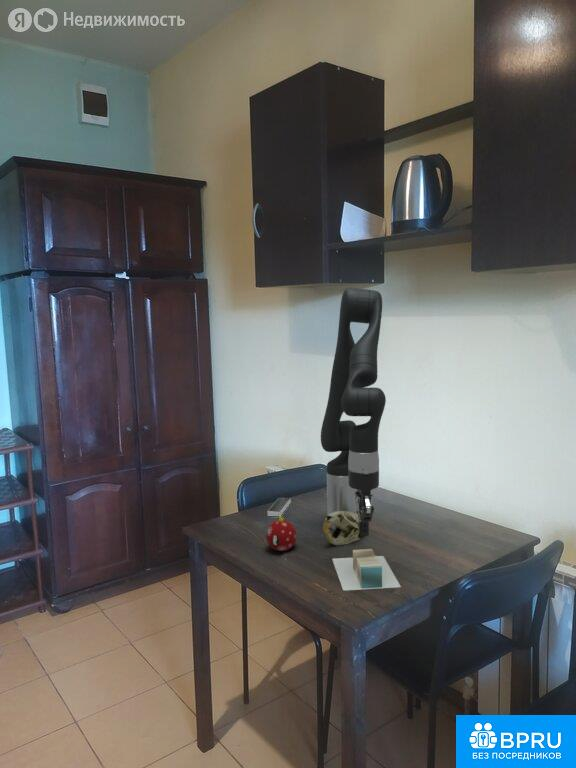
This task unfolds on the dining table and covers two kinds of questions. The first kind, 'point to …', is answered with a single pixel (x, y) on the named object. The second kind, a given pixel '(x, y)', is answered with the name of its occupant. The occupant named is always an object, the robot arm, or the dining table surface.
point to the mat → (350, 579)
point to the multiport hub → (279, 507)
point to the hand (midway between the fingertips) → (363, 534)
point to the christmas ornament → (281, 535)
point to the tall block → (367, 568)
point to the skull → (342, 527)
